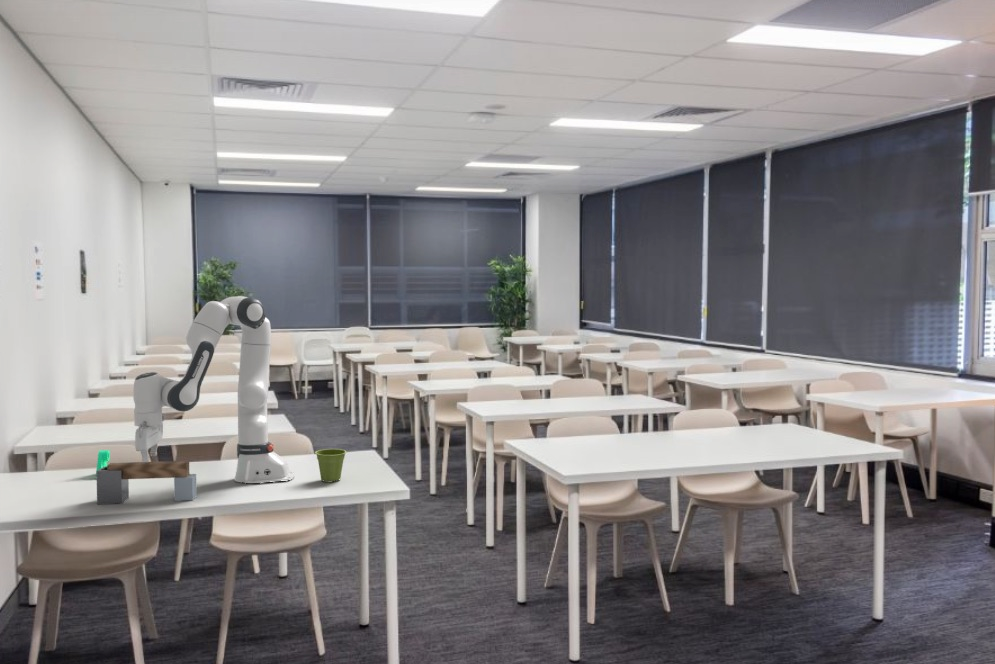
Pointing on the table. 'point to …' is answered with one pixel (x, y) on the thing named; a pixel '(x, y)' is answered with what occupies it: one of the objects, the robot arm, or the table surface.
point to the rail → (152, 469)
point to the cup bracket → (111, 486)
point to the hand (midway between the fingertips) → (149, 458)
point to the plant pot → (330, 463)
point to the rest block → (185, 488)
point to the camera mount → (103, 458)
